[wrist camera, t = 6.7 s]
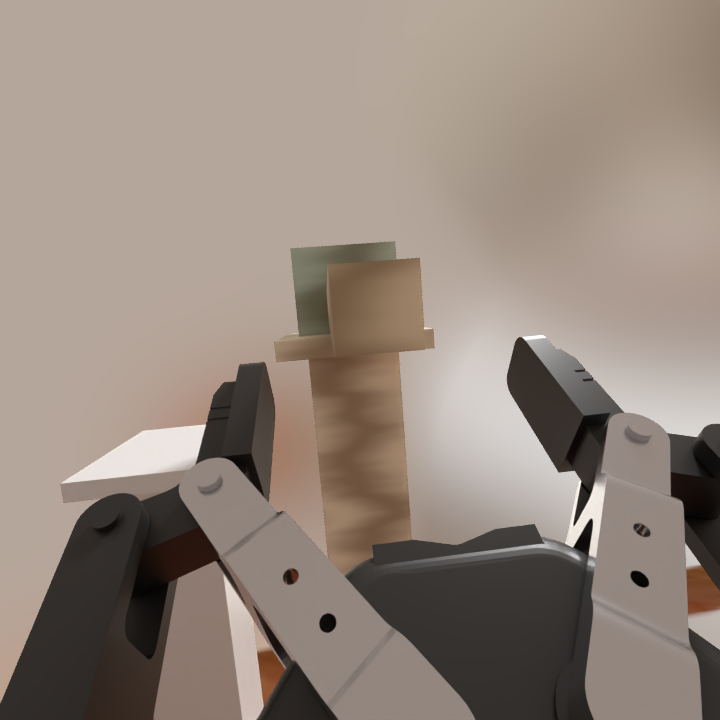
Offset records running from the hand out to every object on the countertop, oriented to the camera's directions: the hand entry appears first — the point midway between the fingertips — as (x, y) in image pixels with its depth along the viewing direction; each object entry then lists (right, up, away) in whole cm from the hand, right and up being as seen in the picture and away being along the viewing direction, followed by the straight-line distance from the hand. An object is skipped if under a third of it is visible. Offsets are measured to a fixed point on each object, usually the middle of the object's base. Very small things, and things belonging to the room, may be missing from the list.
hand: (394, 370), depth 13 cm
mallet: (-1, +2, +8) cm, 8 cm away
